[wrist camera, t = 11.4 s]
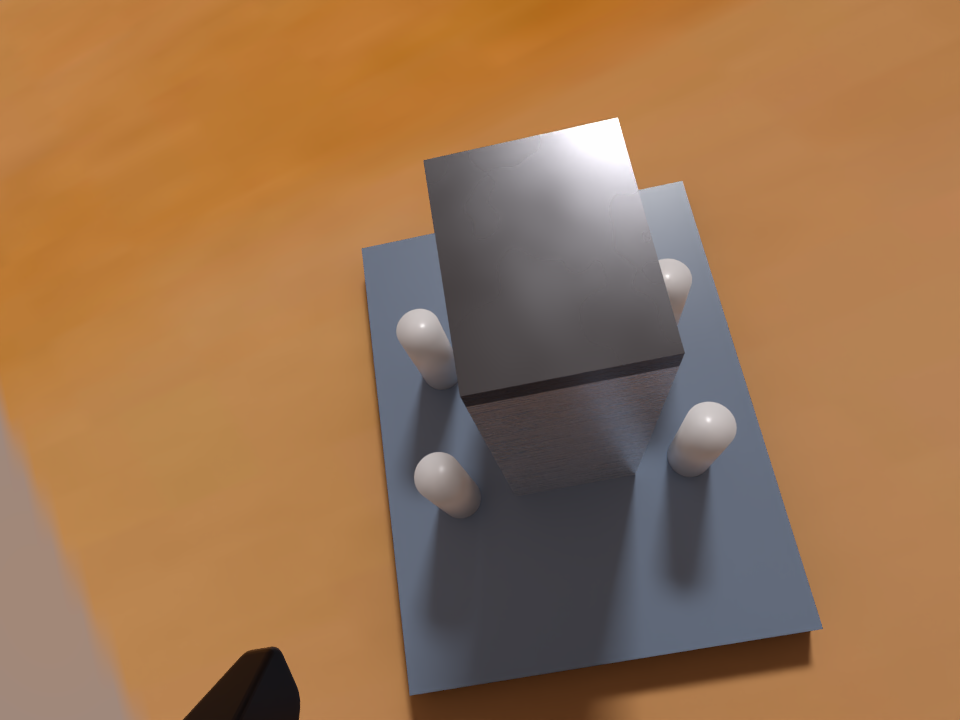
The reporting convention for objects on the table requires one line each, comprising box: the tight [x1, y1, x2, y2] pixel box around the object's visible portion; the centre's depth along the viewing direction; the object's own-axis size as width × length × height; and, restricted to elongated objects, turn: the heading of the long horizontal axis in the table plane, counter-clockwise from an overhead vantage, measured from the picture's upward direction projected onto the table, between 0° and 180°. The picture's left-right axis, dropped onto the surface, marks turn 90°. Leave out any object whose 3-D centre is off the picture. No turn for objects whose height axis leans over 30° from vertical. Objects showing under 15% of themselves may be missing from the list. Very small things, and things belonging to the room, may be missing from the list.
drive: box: [424, 118, 685, 496], centre depth 16 cm, size 4×4×10 cm
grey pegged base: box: [362, 181, 823, 695], centre depth 20 cm, size 14×11×4 cm
